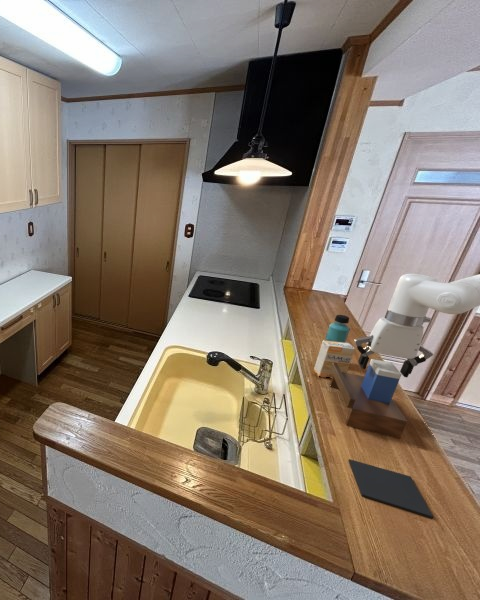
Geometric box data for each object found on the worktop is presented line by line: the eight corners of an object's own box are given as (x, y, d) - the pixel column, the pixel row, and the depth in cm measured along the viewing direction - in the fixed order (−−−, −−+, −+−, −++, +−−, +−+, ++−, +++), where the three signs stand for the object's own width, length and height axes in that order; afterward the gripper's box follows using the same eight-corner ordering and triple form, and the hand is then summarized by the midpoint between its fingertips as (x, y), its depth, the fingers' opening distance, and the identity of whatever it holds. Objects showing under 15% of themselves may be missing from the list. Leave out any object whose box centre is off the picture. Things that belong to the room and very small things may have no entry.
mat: (409, 478, 77) (410, 476, 77) (432, 518, 68) (433, 516, 68) (348, 460, 82) (348, 458, 82) (361, 496, 73) (362, 494, 73)
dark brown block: (372, 394, 108) (381, 371, 105) (399, 438, 89) (411, 412, 86) (325, 384, 113) (332, 362, 110) (341, 424, 95) (350, 398, 92)
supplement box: (318, 377, 117) (328, 345, 112) (313, 370, 121) (322, 339, 117) (344, 380, 115) (355, 348, 111) (338, 373, 120) (348, 342, 115)
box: (381, 390, 100) (392, 362, 97) (389, 403, 94) (401, 374, 91) (361, 386, 102) (370, 358, 99) (368, 398, 96) (379, 370, 93)
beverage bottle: (337, 360, 128) (352, 314, 121) (340, 368, 123) (355, 320, 116) (317, 356, 131) (331, 311, 124) (319, 364, 126) (333, 317, 119)
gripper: (438, 319, 89) (415, 371, 95) (360, 308, 96) (343, 357, 102) (453, 329, 83) (427, 385, 89) (368, 317, 90) (349, 369, 96)
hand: (382, 370), depth 96 cm, fingers open, 9 cm apart
